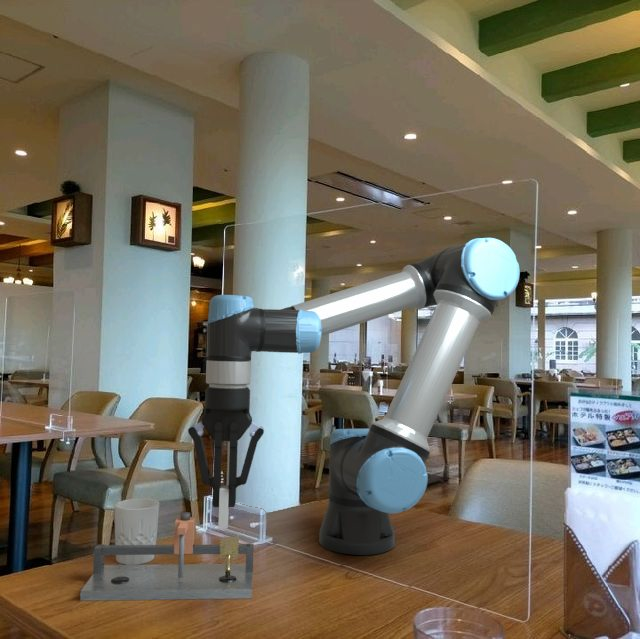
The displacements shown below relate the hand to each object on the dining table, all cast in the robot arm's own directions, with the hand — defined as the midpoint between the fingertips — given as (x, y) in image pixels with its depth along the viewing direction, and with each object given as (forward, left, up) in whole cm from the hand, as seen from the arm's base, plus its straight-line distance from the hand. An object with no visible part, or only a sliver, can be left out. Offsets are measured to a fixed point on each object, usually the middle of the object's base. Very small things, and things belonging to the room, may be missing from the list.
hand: (223, 526), depth 105 cm
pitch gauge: (+8, +2, -9) cm, 12 cm away
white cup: (+16, -11, -9) cm, 21 cm away
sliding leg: (+6, +2, -7) cm, 10 cm away
